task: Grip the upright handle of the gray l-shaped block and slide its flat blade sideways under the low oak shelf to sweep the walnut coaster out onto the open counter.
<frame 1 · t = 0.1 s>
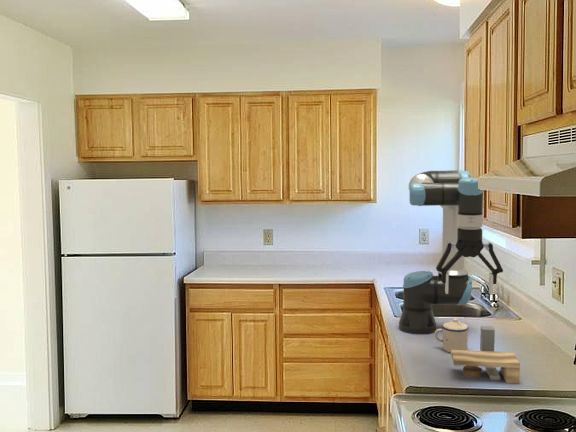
hand: (468, 293, 187), 28 cm above the countertop, tool pointing down, fingers open, 13 cm apart
coaster: (472, 374, 193), on the countertop
teacup with lid: (450, 349, 216), on the countertop
shelf: (487, 375, 191), on the countertop
gray l-shaped block: (486, 361, 203), on the countertop
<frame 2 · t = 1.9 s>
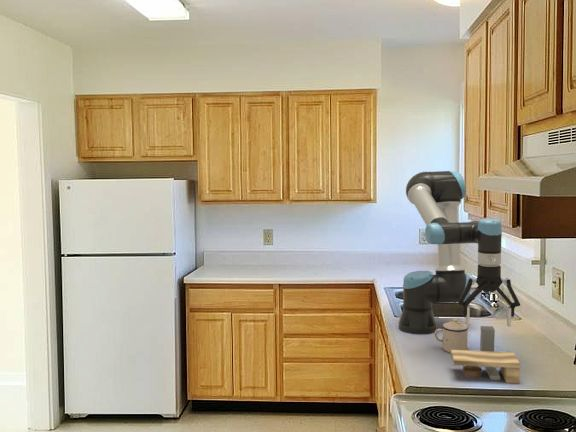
hand: (488, 325, 201), 13 cm above the countertop, tool pointing down, fingers open, 13 cm apart
nothing on the countertop moved.
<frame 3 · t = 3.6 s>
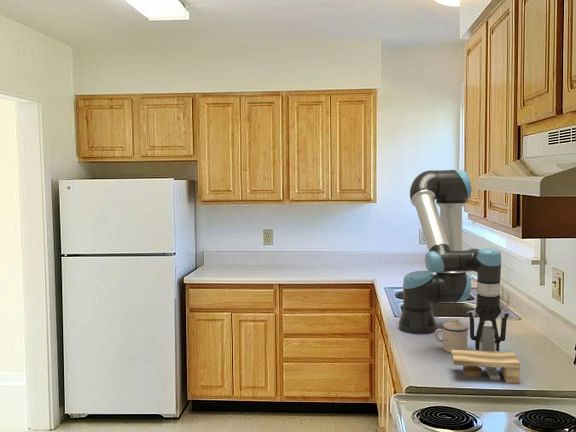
hand: (486, 359, 203), 1 cm above the countertop, tool pointing down, fingers closed on gray l-shaped block, 4 cm apart
gray l-shaped block: (486, 361, 203), on the countertop, touching gripper
everything else where it was.
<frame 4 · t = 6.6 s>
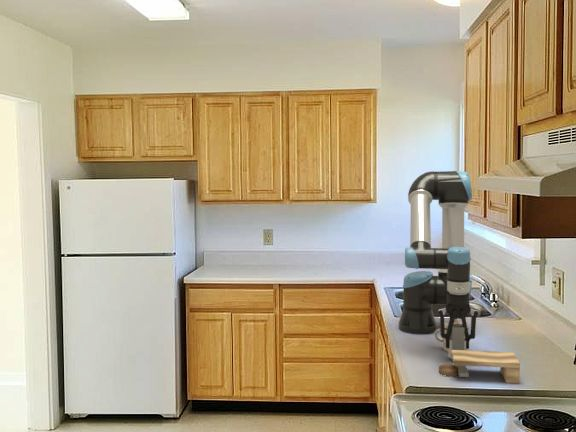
hand: (457, 356, 205), 1 cm above the countertop, tool pointing down, fingers closed on gray l-shaped block, 4 cm apart
coaster: (448, 373, 194), on the countertop, touching gray l-shaped block
gray l-shaped block: (457, 358, 205), on the countertop, touching coaster, gripper
everything else where it was.
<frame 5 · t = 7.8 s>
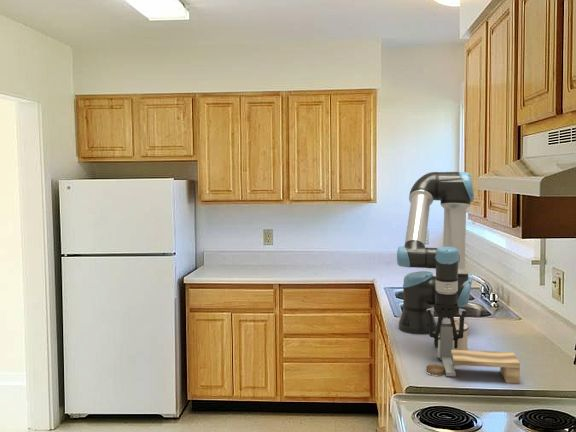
hand: (445, 356, 206), 1 cm above the countertop, tool pointing down, fingers closed on gray l-shaped block, 4 cm apart
coaster: (435, 373, 194), on the countertop
gray l-shaped block: (445, 358, 206), on the countertop, touching gripper
everything else where it was.
when the fingers open (1 cm above the countertop, at t = 8.9 s): gray l-shaped block stays where it is, on the countertop.
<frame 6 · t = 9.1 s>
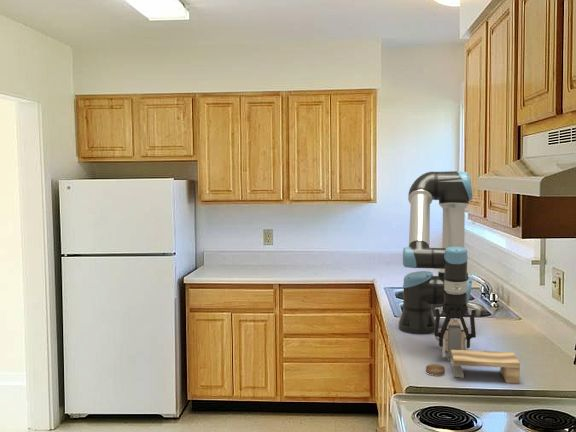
hand: (454, 355, 205), 1 cm above the countertop, tool pointing down, fingers open, 7 cm apart
gray l-shaped block: (453, 359, 205), on the countertop
everything else where it was.
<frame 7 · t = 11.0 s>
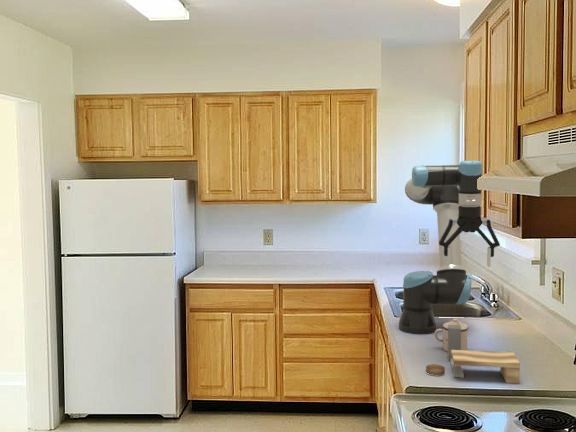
hand: (468, 265, 205), 33 cm above the countertop, tool pointing down, fingers open, 13 cm apart
nothing on the countertop moved.
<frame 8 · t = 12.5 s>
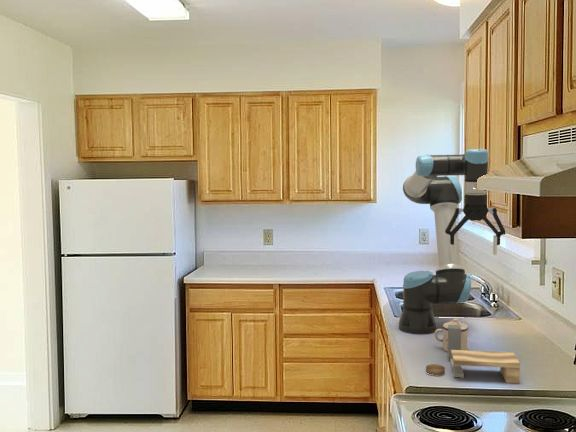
hand: (474, 254, 205), 37 cm above the countertop, tool pointing down, fingers open, 13 cm apart
nothing on the countertop moved.
at the end: coaster inside the target area (2.4 cm from its centre), on the countertop; coaster touching countertop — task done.
